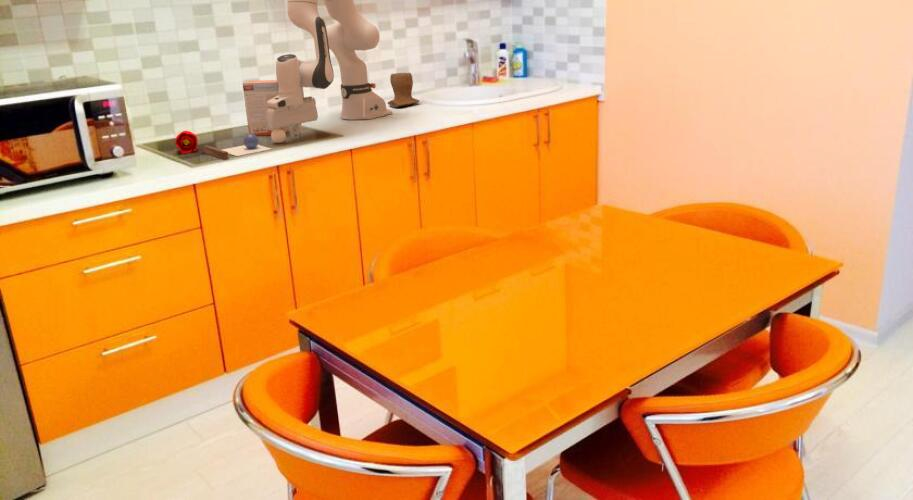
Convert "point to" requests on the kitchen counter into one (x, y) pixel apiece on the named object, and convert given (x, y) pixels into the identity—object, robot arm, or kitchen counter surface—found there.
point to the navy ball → (250, 141)
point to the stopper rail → (216, 152)
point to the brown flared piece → (402, 90)
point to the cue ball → (278, 135)
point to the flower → (186, 141)
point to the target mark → (245, 150)
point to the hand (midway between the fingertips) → (294, 135)
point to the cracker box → (259, 105)
